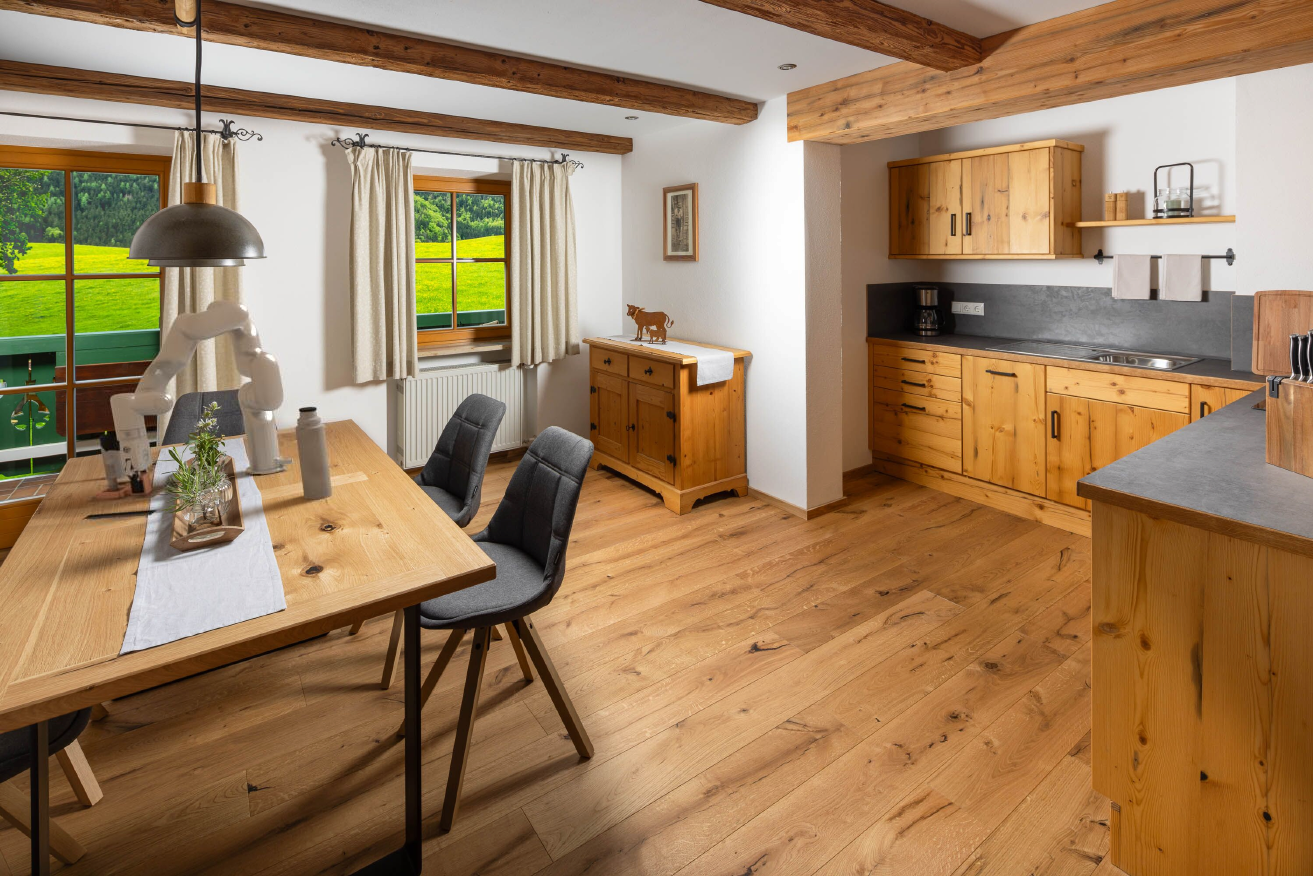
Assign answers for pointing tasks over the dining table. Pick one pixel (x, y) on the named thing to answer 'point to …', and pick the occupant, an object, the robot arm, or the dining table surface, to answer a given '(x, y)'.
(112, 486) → the stand
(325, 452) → the thermos bottle
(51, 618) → the dining table surface
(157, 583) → the dining table surface
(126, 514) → the slate mat
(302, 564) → the dining table surface
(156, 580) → the dining table surface
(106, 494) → the pink l-shaped piece
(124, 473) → the grey mug
